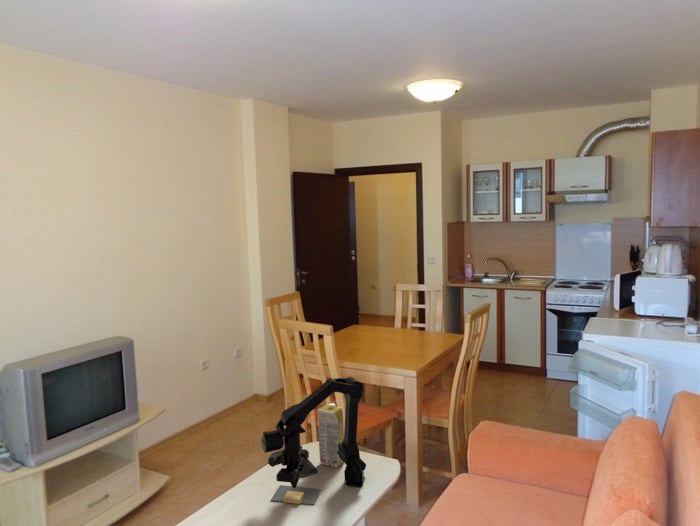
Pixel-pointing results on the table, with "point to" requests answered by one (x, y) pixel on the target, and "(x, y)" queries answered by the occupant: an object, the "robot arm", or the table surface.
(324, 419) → the juice carton
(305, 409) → the robot arm
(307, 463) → the phone
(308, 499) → the charcoal mat
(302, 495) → the ochre block
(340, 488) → the table surface
